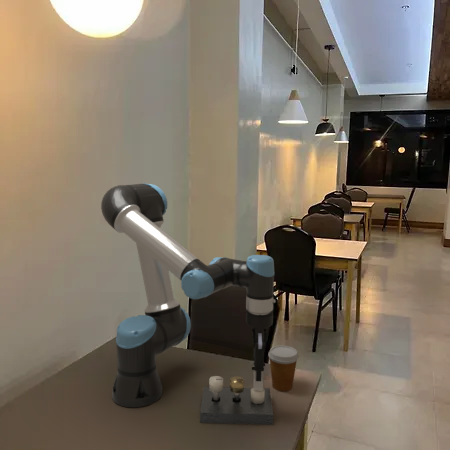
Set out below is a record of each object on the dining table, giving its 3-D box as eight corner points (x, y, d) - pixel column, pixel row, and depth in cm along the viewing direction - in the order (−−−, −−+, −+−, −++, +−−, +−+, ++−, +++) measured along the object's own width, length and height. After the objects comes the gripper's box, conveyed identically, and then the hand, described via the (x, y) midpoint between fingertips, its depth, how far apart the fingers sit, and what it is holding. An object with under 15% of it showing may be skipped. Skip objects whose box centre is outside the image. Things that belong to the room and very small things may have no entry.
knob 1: (208, 402, 127) (208, 382, 126) (209, 394, 131) (209, 375, 130) (222, 402, 127) (222, 382, 126) (223, 395, 131) (223, 375, 130)
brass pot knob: (229, 402, 127) (229, 382, 126) (229, 395, 131) (230, 376, 130) (243, 403, 127) (244, 383, 126) (243, 395, 131) (243, 376, 130)
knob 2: (250, 413, 127) (250, 393, 126) (250, 405, 131) (250, 386, 130) (264, 413, 127) (265, 393, 126) (263, 405, 131) (264, 386, 130)
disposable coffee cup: (296, 396, 137) (298, 359, 135) (265, 392, 139) (266, 356, 137) (297, 381, 146) (299, 346, 144) (269, 377, 148) (269, 343, 146)
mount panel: (200, 422, 122) (200, 412, 122) (204, 395, 136) (204, 386, 136) (272, 424, 122) (273, 414, 121) (269, 397, 136) (269, 388, 135)
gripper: (275, 319, 118) (272, 401, 121) (271, 303, 131) (269, 378, 134) (246, 318, 118) (245, 401, 122) (245, 302, 131) (244, 378, 134)
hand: (258, 389), depth 128 cm, fingers closed
